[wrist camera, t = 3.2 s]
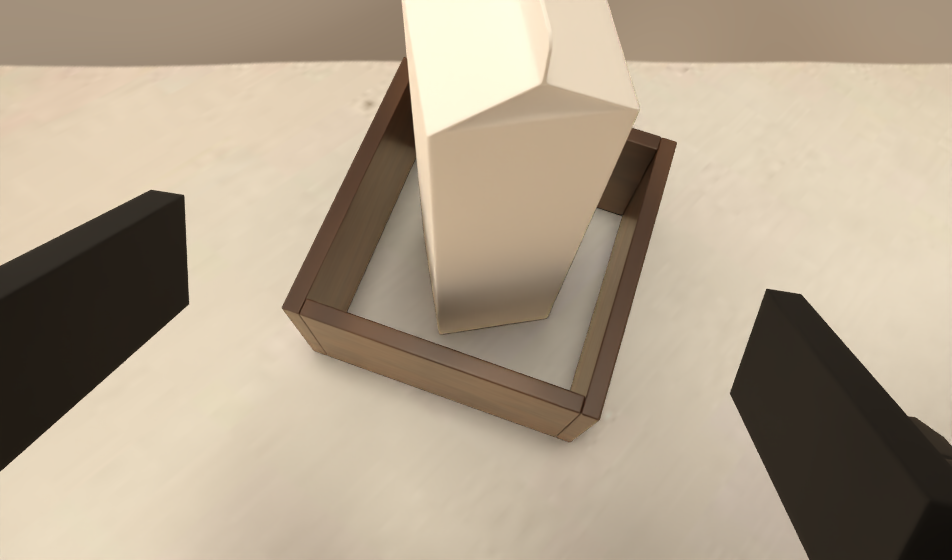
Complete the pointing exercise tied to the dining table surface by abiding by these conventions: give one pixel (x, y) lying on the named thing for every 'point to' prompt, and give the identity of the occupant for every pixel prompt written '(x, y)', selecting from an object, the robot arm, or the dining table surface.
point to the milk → (511, 146)
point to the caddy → (432, 365)
